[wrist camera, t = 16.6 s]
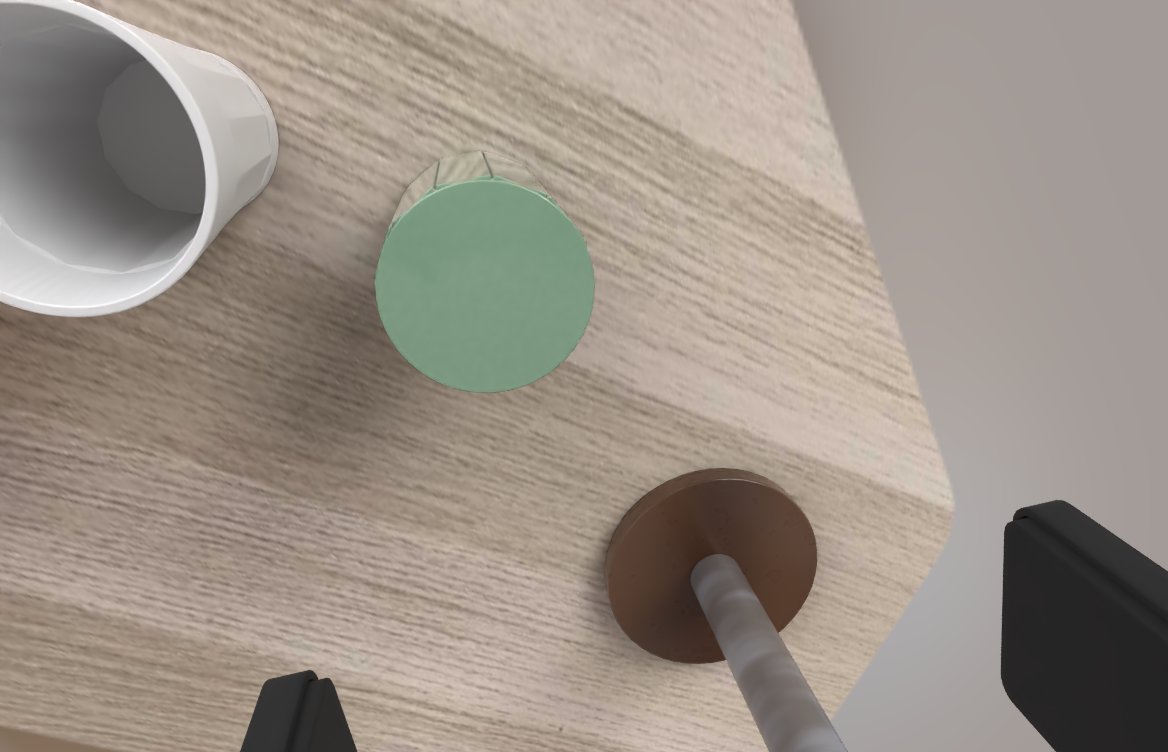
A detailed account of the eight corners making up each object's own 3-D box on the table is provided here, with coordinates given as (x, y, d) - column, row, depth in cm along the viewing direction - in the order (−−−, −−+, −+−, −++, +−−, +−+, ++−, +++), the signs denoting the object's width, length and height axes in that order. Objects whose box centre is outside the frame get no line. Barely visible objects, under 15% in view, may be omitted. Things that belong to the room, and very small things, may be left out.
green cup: (541, 138, 33) (575, 160, 24) (569, 294, 36) (610, 369, 26) (378, 169, 33) (348, 204, 23) (418, 325, 35) (405, 413, 26)
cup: (341, 126, 32) (281, 151, 21) (223, 276, 33) (106, 374, 22) (159, -26, 29) (-22, -92, 18) (38, 143, 30) (-201, 179, 19)
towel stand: (801, 446, 40) (1007, 664, 25) (814, 622, 44) (1000, 901, 29) (587, 495, 39) (670, 750, 24) (621, 670, 43) (709, 983, 28)
